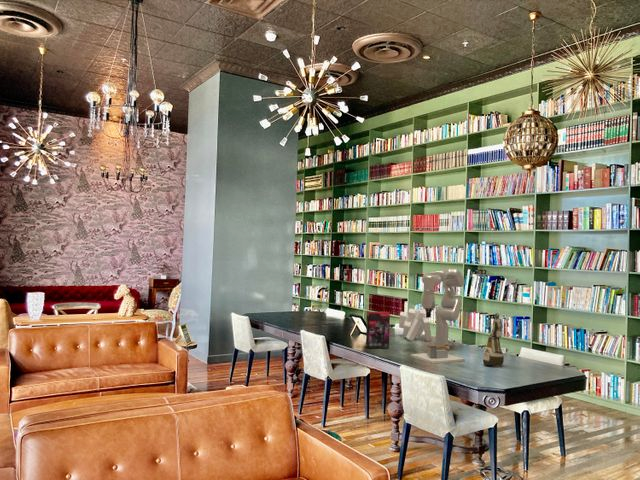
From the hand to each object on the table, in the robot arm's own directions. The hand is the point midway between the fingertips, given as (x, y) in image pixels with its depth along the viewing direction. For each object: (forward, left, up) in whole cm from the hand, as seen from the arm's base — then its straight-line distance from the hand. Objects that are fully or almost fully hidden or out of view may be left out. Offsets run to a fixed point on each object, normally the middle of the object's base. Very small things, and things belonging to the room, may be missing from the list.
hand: (428, 317), depth 369 cm
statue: (-18, +46, -27) cm, 56 cm away
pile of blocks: (-30, -54, -27) cm, 67 cm away
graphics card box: (+26, -27, -27) cm, 46 cm away
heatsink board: (+6, +18, -26) cm, 32 cm away
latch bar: (+5, +18, -19) cm, 27 cm away
